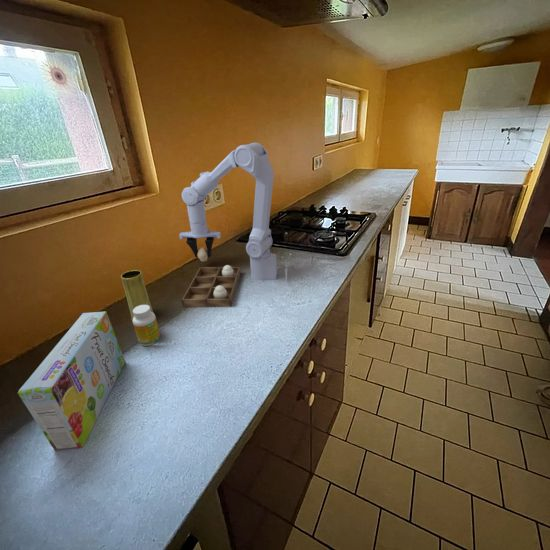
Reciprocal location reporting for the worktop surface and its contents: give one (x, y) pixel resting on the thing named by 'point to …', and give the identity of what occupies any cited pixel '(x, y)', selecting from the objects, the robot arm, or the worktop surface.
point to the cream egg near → (220, 292)
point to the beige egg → (202, 254)
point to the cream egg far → (227, 271)
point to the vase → (135, 290)
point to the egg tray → (211, 288)
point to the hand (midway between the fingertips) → (203, 256)
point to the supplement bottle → (145, 325)
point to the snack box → (74, 381)
